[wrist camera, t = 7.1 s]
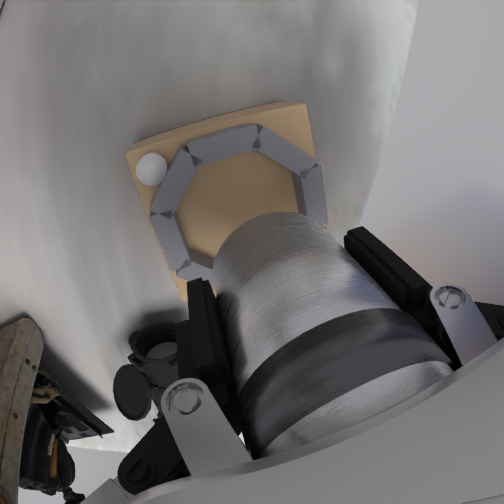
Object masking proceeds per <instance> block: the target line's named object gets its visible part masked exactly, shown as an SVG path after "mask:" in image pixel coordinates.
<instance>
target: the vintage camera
mask: <svg viewBox="0 0 504 504" xmlns="http://www.w3.org/2000/svg"><path fill="white" fill-rule="evenodd" d="M42 352H43V339H42V335H41V331H40V329H39V328H38V327H37V325H36V324H35V323H34V322H33V321H32V319H29V318H22V319H20V320H18V321H16V322H14V323H11V324H9V325H7V326H5V327H4V328H2V329H1V330H0V504H18V487H21V488H23V489H29V490H39V491H41V492H43V493H45V494H47V495H51V496H52V495H55V494H56V491H58V492H63V495H64V496H63V497H64V500H66V502H65V504H80V503H81V502H82V501H83V500H85V499H86V498H85V496H84V494H78V493H75V492H73V491H72V488H70V487H69V486H70V485H71V484H72V483H73V481H74V479H75V463H74V461H73V459H72V457H71V455H70V454H69V453H68V451H67V448H66V446H65V444H68V443H69V440H74V439H81V438H83V439H84V438H86V437H92V436H97V435H99V436H100V437H101V438H103V437H102V435H103V434H108V433H113V432H114V430H112V429H111V428H110V427H109V426H107V425H106V424H105V423H104V422H103V421H101V420H100V419H99V418H98V417H97V416H95V415H94V414H93V413H92V412H91V411H89V410H88V409H87V408H86V407H85V406H84V405H83V404H81V403H80V402H79V401H78V400H77V399H76V398H74V397H73V396H72V395H71V394H70V393H68V392H67V391H66V390H65V389H64V388H63V387H62V386H61V385H60V384H59V383H58V382H56V381H55V380H54V379H53V378H52V377H51V376H50V375H49V374H48V373H47V372H46V371H45V370H44V369H43V368H42V367H41V366H40V365H39V363H40V359H41V355H42Z"/></svg>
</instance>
